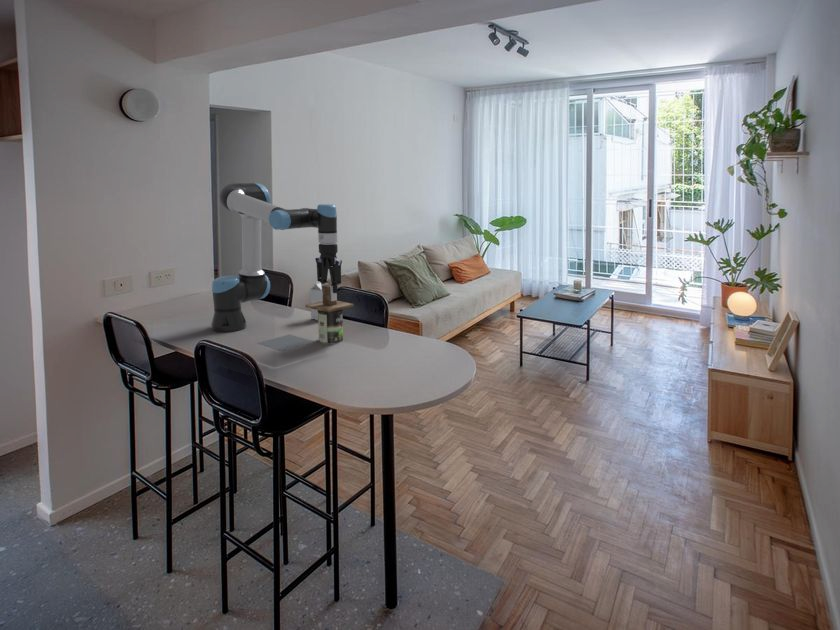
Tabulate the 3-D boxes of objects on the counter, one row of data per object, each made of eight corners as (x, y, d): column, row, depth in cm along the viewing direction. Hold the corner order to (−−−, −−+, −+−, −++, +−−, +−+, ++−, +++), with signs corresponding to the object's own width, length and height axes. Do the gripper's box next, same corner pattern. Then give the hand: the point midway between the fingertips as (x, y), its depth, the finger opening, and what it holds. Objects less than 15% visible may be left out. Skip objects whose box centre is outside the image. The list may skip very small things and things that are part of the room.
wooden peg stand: (305, 307, 226) (304, 285, 224) (330, 301, 237) (330, 281, 235) (328, 312, 218) (328, 290, 216) (353, 306, 228) (353, 285, 226)
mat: (256, 344, 226) (256, 343, 226) (289, 335, 239) (289, 334, 239) (282, 352, 216) (282, 351, 216) (315, 342, 229) (315, 341, 229)
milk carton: (331, 318, 269) (330, 280, 265) (323, 321, 263) (322, 282, 259) (319, 316, 272) (318, 279, 268) (311, 319, 266) (309, 281, 261)
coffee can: (346, 339, 235) (345, 307, 231) (338, 346, 225) (337, 312, 222) (324, 337, 237) (322, 305, 233) (314, 344, 227) (313, 311, 224)
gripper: (306, 242, 223) (308, 298, 229) (335, 245, 213) (337, 304, 218) (320, 240, 229) (322, 295, 235) (349, 244, 218) (351, 301, 224)
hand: (329, 299), depth 227 cm, fingers open, 4 cm apart
